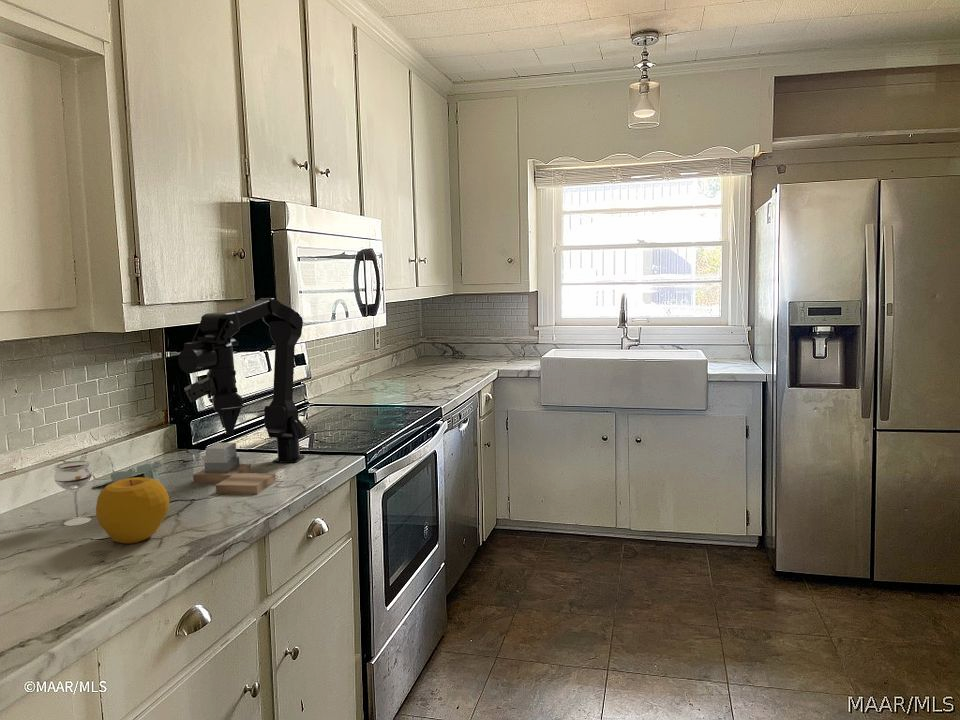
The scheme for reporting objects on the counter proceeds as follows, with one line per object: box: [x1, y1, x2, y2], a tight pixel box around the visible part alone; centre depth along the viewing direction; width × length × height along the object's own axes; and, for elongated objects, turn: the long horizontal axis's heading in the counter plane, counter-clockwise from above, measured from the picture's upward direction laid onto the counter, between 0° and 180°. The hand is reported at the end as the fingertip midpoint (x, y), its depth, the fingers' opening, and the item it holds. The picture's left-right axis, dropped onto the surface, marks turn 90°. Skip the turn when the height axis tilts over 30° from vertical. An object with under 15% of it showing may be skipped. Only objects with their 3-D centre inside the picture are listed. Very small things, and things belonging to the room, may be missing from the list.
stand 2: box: [215, 472, 277, 495], centre depth 175 cm, size 10×10×2 cm
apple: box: [95, 476, 171, 545], centre depth 143 cm, size 13×13×11 cm
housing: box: [203, 442, 241, 473], centre depth 184 cm, size 6×6×6 cm
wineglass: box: [53, 460, 92, 527], centre depth 154 cm, size 7×7×12 cm
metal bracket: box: [91, 459, 170, 489], centre depth 183 cm, size 14×6×15 cm
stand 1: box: [192, 463, 252, 484], centre depth 184 cm, size 10×10×2 cm
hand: (227, 431), depth 178 cm, fingers open, 9 cm apart
